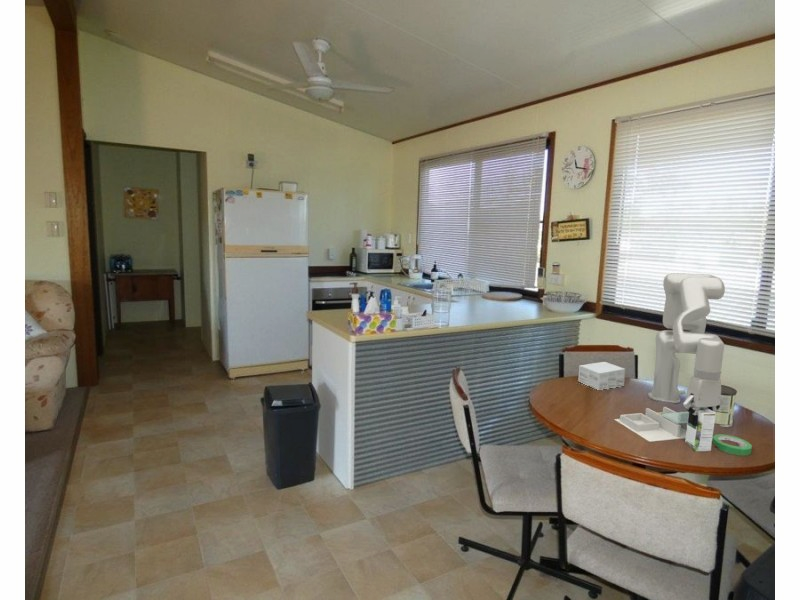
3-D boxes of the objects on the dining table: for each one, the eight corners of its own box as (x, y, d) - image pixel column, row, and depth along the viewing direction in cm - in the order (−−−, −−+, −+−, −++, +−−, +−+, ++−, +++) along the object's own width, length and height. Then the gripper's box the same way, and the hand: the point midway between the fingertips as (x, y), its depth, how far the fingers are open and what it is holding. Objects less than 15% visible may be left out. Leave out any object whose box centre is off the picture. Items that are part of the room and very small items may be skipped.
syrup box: (684, 444, 159) (688, 405, 157) (699, 443, 160) (704, 405, 157) (695, 452, 154) (700, 412, 151) (711, 451, 154) (716, 411, 152)
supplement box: (602, 378, 229) (604, 361, 227) (624, 387, 217) (625, 368, 215) (577, 382, 223) (578, 364, 221) (597, 391, 211) (599, 372, 209)
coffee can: (697, 414, 185) (701, 382, 182) (727, 418, 181) (731, 385, 179) (705, 425, 175) (709, 390, 173) (736, 429, 172) (741, 394, 170)
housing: (661, 417, 182) (662, 404, 181) (701, 438, 163) (702, 424, 162) (613, 421, 177) (615, 408, 176) (649, 444, 159) (650, 429, 158)
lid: (681, 413, 171) (682, 404, 170) (696, 421, 164) (698, 412, 163) (661, 415, 169) (662, 406, 169) (677, 423, 162) (678, 413, 162)
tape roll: (752, 447, 158) (753, 440, 157) (749, 459, 149) (750, 452, 149) (714, 437, 165) (715, 431, 164) (709, 448, 157) (710, 441, 156)
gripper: (718, 369, 158) (712, 417, 161) (676, 372, 154) (670, 421, 157) (738, 376, 150) (731, 426, 153) (694, 379, 147) (688, 430, 150)
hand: (700, 423), depth 155 cm, fingers closed on syrup box, 6 cm apart
